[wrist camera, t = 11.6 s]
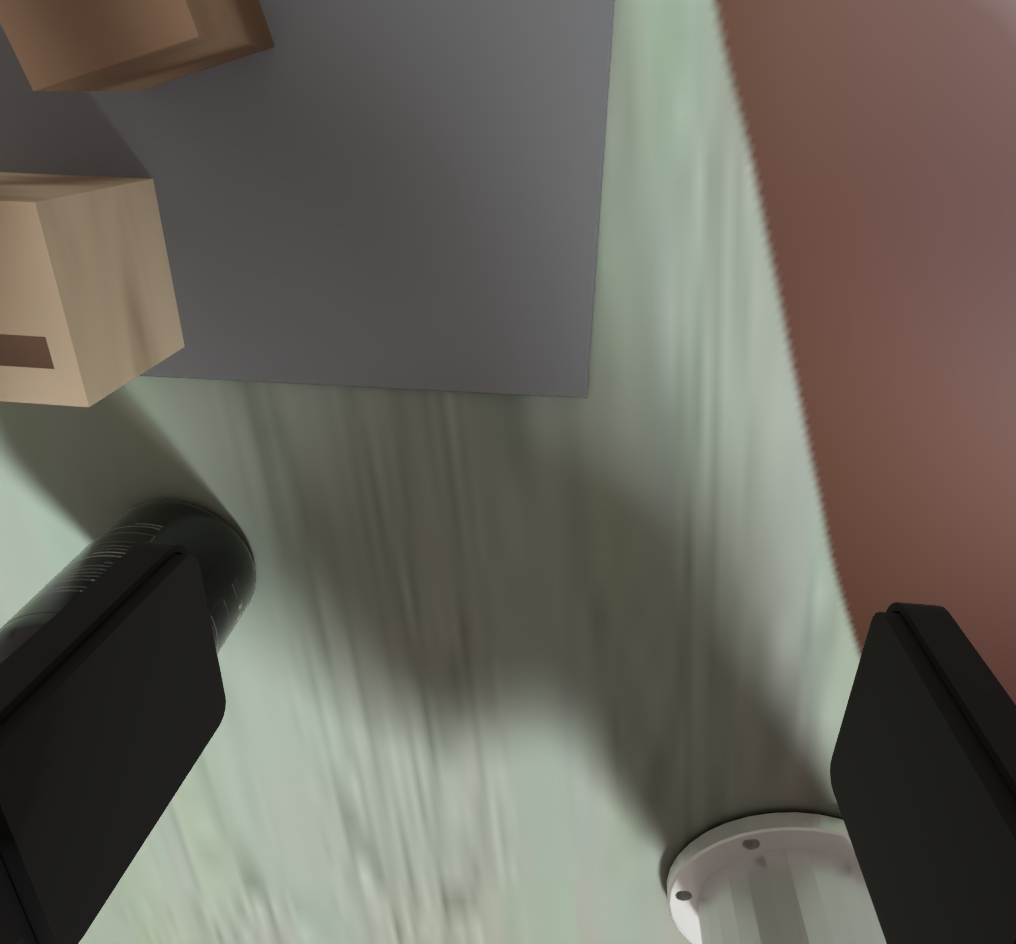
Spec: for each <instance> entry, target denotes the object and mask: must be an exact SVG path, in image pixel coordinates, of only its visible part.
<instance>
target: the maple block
mask: <svg viewBox="0 0 1016 944" xmlns="http://www.w3.org/2000/svg"><path fill="white" fill-rule="evenodd" d="M184 347H185V345H184V340H183V335H182V330H181V324H180V319H179V314H178V308H177V303H176V298H175V293H174V287H173V282H172V277H171V271H170V266H169V261H168V256H167V250H166V245H165V240H164V234H163V229H162V224H161V219H160V213H159V208H158V203H157V197H156V192H155V187H154V182H153V179H149V178H126V177H103V176H79V175H56V174H33V173H10V172H0V401H4V402H19V403H33V404H48V405H63V406H77V407H91V406H92V405H94V404H95V403H97V402H98V401H100V400H102V399H103V398H105V397H106V396H108V395H109V394H111V393H113V392H114V391H116V390H117V389H119V388H121V387H122V386H124V385H125V384H127V383H128V382H130V381H132V380H133V379H135V378H136V377H138V376H139V375H141V374H143V373H144V372H146V371H147V370H149V369H150V368H152V367H154V366H155V365H157V364H158V363H160V362H162V361H163V360H165V359H166V358H168V357H169V356H171V355H173V354H174V353H176V352H177V351H179V350H180V349H182V348H184Z"/></svg>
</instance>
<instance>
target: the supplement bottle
mask: <svg viewBox="0 0 1016 944" xmlns="http://www.w3.org/2000/svg"><path fill="white" fill-rule="evenodd" d="M139 542H157V543H169V544H180V545H182V546H184V547H185V548H186V549H187V551H188V553H189V555H192V556H194V557H196V558H197V560H198V562H199V565H200V570H201V575H202V580H203V585H204V590H205V595H206V601H207V606H208V611H209V616H210V621H211V626H212V631H213V636H214V641H215V647H216V652H217V654H218V652H219V651H220V649H221V648H222V646H223V644H224V643H225V641H226V640H227V638H228V636H229V635H230V633H231V632H232V630H233V629H234V627H235V625H236V624H237V622H238V621H239V619H240V617H241V616H242V614H243V612H244V611H245V609H246V607H247V606H248V604H249V602H250V600H251V598H252V596H253V593H254V589H255V583H256V572H255V566H254V562H253V559H252V556H251V554H250V551H249V549H248V548H247V546H246V544H245V543H244V541H243V540H242V538H241V537H240V536H239V535H238V533H237V532H236V531H235V530H234V529H233V528H232V527H231V526H229V525H228V524H227V523H226V522H225V521H223V520H222V519H221V518H219V517H218V516H216V515H215V514H213V513H211V512H209V511H207V510H205V509H203V508H200V507H198V506H195V505H192V504H188V503H184V502H179V501H168V500H162V501H151V502H146V503H143V504H140V505H137V506H135V507H133V508H131V509H129V510H127V511H126V512H124V513H123V514H122V515H120V516H119V517H118V518H117V519H116V520H115V521H114V522H113V523H112V524H110V525H109V526H108V527H107V528H106V529H105V530H104V531H103V532H102V533H101V534H100V535H98V536H97V537H96V538H95V539H94V540H93V541H92V542H91V543H90V544H89V545H88V546H87V547H86V548H85V549H84V550H83V551H82V552H81V553H80V554H79V555H77V556H76V557H75V558H74V559H73V560H72V561H71V562H70V563H69V564H68V565H67V566H66V567H65V568H64V569H63V570H62V571H61V572H60V573H59V574H57V575H56V576H55V577H54V578H53V579H52V580H51V581H50V582H49V583H48V584H47V585H46V586H45V587H44V588H43V589H42V590H41V591H40V592H39V593H37V594H36V595H35V596H34V597H33V598H32V599H31V600H30V601H29V602H28V603H27V604H26V605H25V606H24V607H23V608H22V609H21V610H20V611H19V612H17V613H16V614H15V615H14V616H13V617H12V618H11V619H10V620H9V621H8V622H7V623H6V624H5V625H4V626H3V627H2V628H1V629H0V664H1V663H2V662H3V661H4V660H5V659H6V658H8V657H9V656H10V655H11V654H12V653H13V652H14V651H16V650H17V649H18V648H19V647H20V646H21V645H22V644H23V643H25V642H26V641H27V640H28V639H29V638H30V637H31V636H32V635H34V634H35V633H36V632H37V631H38V630H39V629H40V628H41V627H43V626H44V625H45V624H46V623H47V622H48V621H49V620H51V619H52V618H53V617H54V616H55V615H56V614H57V613H58V612H60V611H61V610H62V609H63V608H64V607H65V606H66V605H67V604H69V603H70V602H71V601H72V600H73V599H74V598H75V597H77V596H78V595H79V594H80V593H81V592H82V591H83V590H84V589H86V588H87V587H88V586H89V585H90V584H91V583H92V582H93V581H95V580H96V579H97V578H98V577H99V576H100V575H101V574H103V573H104V572H105V571H106V570H107V569H108V568H109V567H110V566H112V565H113V564H114V563H115V562H116V561H117V560H118V559H119V558H121V557H122V556H123V555H124V554H125V553H126V552H127V551H129V550H130V549H131V548H132V547H133V546H134V545H136V544H137V543H139Z"/></svg>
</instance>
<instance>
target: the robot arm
mask: <svg viewBox="0 0 1016 944" xmlns="http://www.w3.org/2000/svg"><path fill="white" fill-rule="evenodd" d="M225 705H226V699H225V693H224V688H223V682H222V677H221V672H220V667H219V662H218V657H217V652H216V647H215V641H214V636H213V631H212V626H211V621H210V616H209V611H208V606H207V601H206V595H205V590H204V585H203V580H202V575H201V570H200V565H199V562H198V560H197V558H196V557H194V556H192V555H189V553H188V551H187V549H186V548H185V547H184V546H182V545H180V544H169V543H157V542H139V543H137V544H136V545H134V546H133V547H132V548H131V549H130V550H129V551H127V552H126V553H125V554H124V555H123V556H122V557H121V558H119V559H118V560H117V561H116V562H115V563H114V564H113V565H112V566H110V567H109V568H108V569H107V570H106V571H105V572H104V573H103V574H101V575H100V576H99V577H98V578H97V579H96V580H95V581H93V582H92V583H91V584H90V585H89V586H88V587H87V588H86V589H84V590H83V591H82V592H81V593H80V594H79V595H78V596H77V597H75V598H74V599H73V600H72V601H71V602H70V603H69V604H67V605H66V606H65V607H64V608H63V609H62V610H61V611H60V612H58V613H57V614H56V615H55V616H54V617H53V618H52V619H51V620H49V621H48V622H47V623H46V624H45V625H44V626H43V627H41V628H40V629H39V630H38V631H37V632H36V633H35V634H34V635H32V636H31V637H30V638H29V639H28V640H27V641H26V642H25V643H23V644H22V645H21V646H20V647H19V648H18V649H17V650H16V651H14V652H13V653H12V654H11V655H10V656H9V657H8V658H6V659H5V660H4V661H3V662H2V663H1V664H0V944H78V943H79V941H80V940H81V939H82V938H83V936H84V935H85V933H86V931H87V930H88V928H89V927H90V925H91V924H92V922H93V921H94V919H95V917H96V916H97V914H98V913H99V911H100V910H101V908H102V907H103V905H104V904H105V902H106V900H107V899H108V897H109V896H110V894H111V893H112V891H113V890H114V888H115V886H116V885H117V883H118V882H119V880H120V879H121V877H122V876H123V874H124V872H125V871H126V869H127V868H128V866H129V865H130V863H131V862H132V860H133V859H134V857H135V855H136V854H137V852H138V851H139V849H140V848H141V846H142V845H143V843H144V841H145V840H146V838H147V837H148V835H149V834H150V832H151V831H152V829H153V828H154V826H155V824H156V823H157V821H158V820H159V818H160V817H161V815H162V814H163V812H164V810H165V809H166V807H167V806H168V804H169V803H170V801H171V800H172V798H173V796H174V795H175V793H176V792H177V790H178V789H179V787H180V786H181V784H182V783H183V781H184V779H185V778H186V776H187V775H188V773H189V772H190V770H191V769H192V767H193V765H194V764H195V762H196V761H197V759H198V758H199V756H200V755H201V753H202V751H203V750H204V748H205V747H206V745H207V744H208V742H209V741H210V739H211V738H212V736H213V734H214V733H215V731H216V730H217V728H218V727H219V725H220V723H221V721H222V718H223V716H224V712H225ZM830 776H831V784H832V788H833V792H834V795H835V798H836V800H837V803H838V806H839V809H840V812H841V815H842V818H843V820H842V819H838V818H834V817H829V816H825V815H820V814H810V813H799V812H785V813H768V814H761V815H754V816H748V817H745V818H741V819H738V820H734V821H731V822H727V823H725V824H722V825H720V826H718V827H716V828H714V829H711V830H709V831H707V832H706V833H704V834H703V835H701V836H700V837H698V838H697V839H695V840H694V841H692V842H691V843H690V844H689V845H688V846H687V847H686V848H685V849H684V850H683V851H682V852H681V853H680V854H679V855H678V856H677V858H676V859H675V861H674V863H673V864H672V866H671V867H670V871H669V874H668V878H667V899H668V906H669V911H670V916H671V918H672V920H673V921H674V923H675V925H676V927H677V929H678V930H679V931H680V932H681V933H682V934H683V935H684V936H685V938H686V939H687V940H689V941H690V942H691V943H693V944H1016V705H1015V704H1014V702H1013V701H1012V699H1011V698H1010V697H1009V695H1008V694H1007V692H1006V691H1005V690H1004V688H1003V687H1002V686H1001V684H1000V683H999V681H998V680H997V679H996V678H995V676H994V674H993V673H992V672H991V670H990V669H989V668H988V666H987V665H986V663H985V662H984V661H983V659H982V658H981V656H980V655H979V654H978V652H977V651H976V649H975V648H974V647H973V645H972V644H971V643H970V641H969V640H968V639H967V637H966V636H965V634H964V633H963V631H962V630H961V629H960V627H959V626H958V624H957V623H956V622H955V620H954V619H953V618H952V616H951V615H950V613H949V612H948V611H947V610H946V609H945V608H944V607H941V606H936V605H924V604H911V603H899V602H895V603H893V604H891V605H890V606H889V608H888V609H887V611H886V612H878V613H876V614H875V615H874V616H873V619H872V621H871V624H870V628H869V631H868V634H867V638H866V641H865V645H864V648H863V652H862V655H861V659H860V662H859V666H858V669H857V673H856V676H855V680H854V683H853V686H852V690H851V693H850V697H849V700H848V704H847V707H846V711H845V714H844V718H843V721H842V725H841V728H840V732H839V735H838V738H837V742H836V745H835V749H834V752H833V756H832V760H831V766H830Z"/></svg>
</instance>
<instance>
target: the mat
mask: <svg viewBox="0 0 1016 944" xmlns="http://www.w3.org/2000/svg"><path fill="white" fill-rule="evenodd" d="M259 1H260V4H261V7H262V10H263V13H264V16H265V19H266V22H267V25H268V28H269V30H270V33H271V36H272V39H273V42H274V45H275V47H273V48H270V49H267V50H264V51H261V52H258V53H254V54H251V55H248V56H245V57H242V58H239V59H236V60H233V61H230V62H227V63H223V64H220V65H217V66H214V67H211V68H208V69H205V70H202V71H199V72H196V73H192V74H189V75H186V76H183V77H180V78H177V79H174V80H171V81H168V82H165V83H161V84H158V85H155V86H152V87H149V88H146V89H143V90H140V91H33V89H32V87H31V85H30V83H29V81H28V79H27V77H26V75H25V73H24V71H23V69H22V66H21V64H20V62H19V60H18V58H17V56H16V54H15V52H14V50H13V48H12V46H11V44H10V42H9V40H8V37H7V35H6V33H5V31H4V29H3V27H2V25H1V23H0V172H10V173H33V174H56V175H79V176H103V177H126V178H149V179H153V182H154V187H155V192H156V197H157V203H158V208H159V213H160V219H161V224H162V229H163V234H164V240H165V245H166V250H167V256H168V261H169V266H170V271H171V277H172V282H173V287H174V293H175V298H176V303H177V308H178V314H179V319H180V324H181V330H182V335H183V340H184V345H185V347H184V348H182V349H180V350H179V351H177V352H176V353H174V354H173V355H171V356H169V357H168V358H166V359H165V360H163V361H162V362H160V363H158V364H157V365H155V366H154V367H152V368H150V369H149V370H147V371H146V372H144V373H143V374H141V375H139V376H155V377H175V378H195V379H215V380H236V381H256V382H276V383H296V384H316V385H336V386H357V387H377V388H397V389H417V390H437V391H457V392H477V393H498V394H518V395H538V396H558V397H578V398H587V388H588V374H589V360H590V345H591V331H592V317H593V302H594V288H595V274H596V259H597V245H598V230H599V216H600V202H601V187H602V173H603V159H604V144H605V130H606V116H607V101H608V87H609V72H610V58H611V44H612V29H613V15H614V1H615V0H259Z"/></svg>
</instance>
